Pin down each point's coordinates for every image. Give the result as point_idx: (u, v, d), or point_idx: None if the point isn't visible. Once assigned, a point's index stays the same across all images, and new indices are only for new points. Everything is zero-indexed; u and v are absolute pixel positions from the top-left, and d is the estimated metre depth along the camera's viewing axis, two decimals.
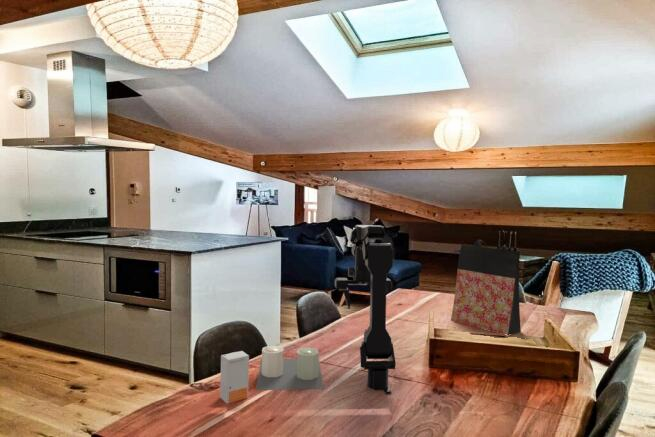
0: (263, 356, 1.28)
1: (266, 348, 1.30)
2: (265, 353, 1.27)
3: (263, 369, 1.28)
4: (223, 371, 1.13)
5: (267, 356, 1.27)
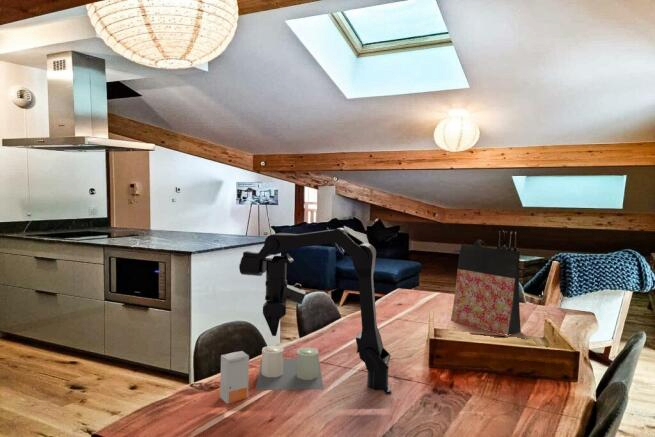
0: (263, 356, 1.28)
1: (266, 348, 1.30)
2: (265, 353, 1.27)
3: (263, 369, 1.28)
4: (223, 371, 1.13)
5: (267, 356, 1.27)
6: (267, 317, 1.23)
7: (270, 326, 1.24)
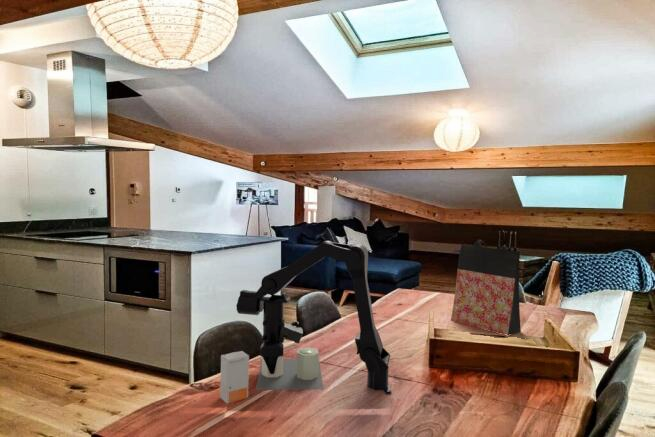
0: None
1: None
2: None
3: (263, 369, 1.28)
4: (223, 371, 1.13)
5: None
6: (265, 356, 1.25)
7: (268, 365, 1.26)
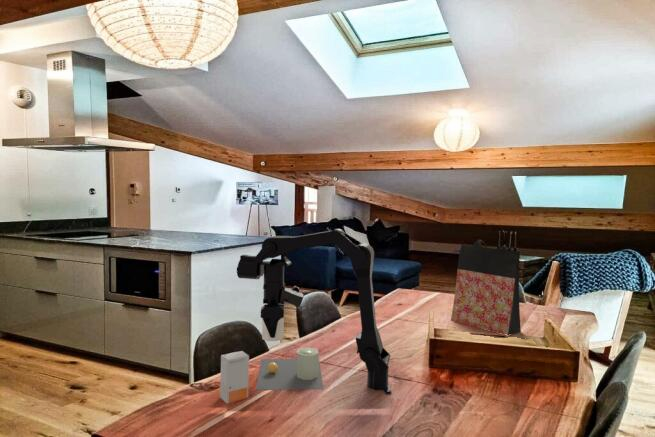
0: None
1: None
2: None
3: (263, 333, 1.28)
4: (223, 371, 1.13)
5: None
6: (265, 319, 1.24)
7: (268, 328, 1.25)
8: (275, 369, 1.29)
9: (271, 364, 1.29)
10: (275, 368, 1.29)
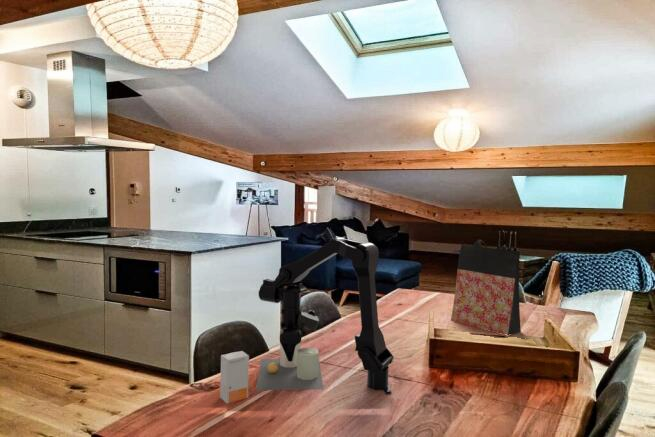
0: (281, 347, 1.35)
1: None
2: None
3: (281, 360, 1.36)
4: (223, 371, 1.13)
5: None
6: (283, 344, 1.30)
7: (286, 352, 1.32)
8: (275, 369, 1.29)
9: (271, 364, 1.29)
10: (275, 368, 1.29)
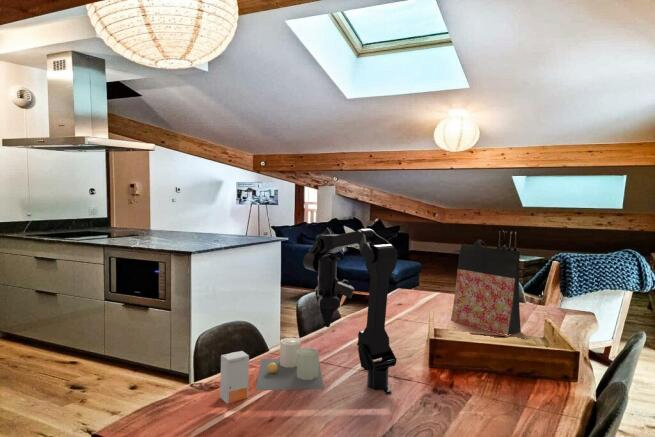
0: (281, 347, 1.35)
1: (284, 340, 1.38)
2: (283, 344, 1.35)
3: (281, 360, 1.36)
4: (223, 371, 1.13)
5: (285, 347, 1.34)
6: (322, 310, 1.37)
7: (324, 318, 1.38)
8: (275, 369, 1.29)
9: (271, 364, 1.29)
10: (275, 368, 1.29)
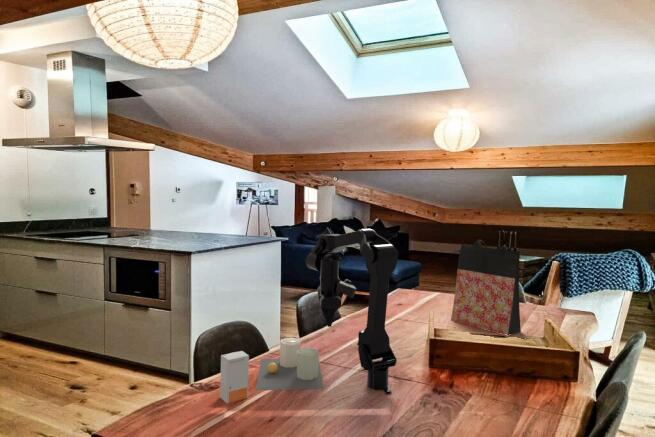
0: (281, 347, 1.35)
1: (284, 340, 1.38)
2: (283, 344, 1.35)
3: (281, 360, 1.36)
4: (223, 371, 1.13)
5: (285, 347, 1.34)
6: (324, 309, 1.37)
7: (326, 318, 1.38)
8: (275, 369, 1.29)
9: (271, 364, 1.29)
10: (275, 368, 1.29)
